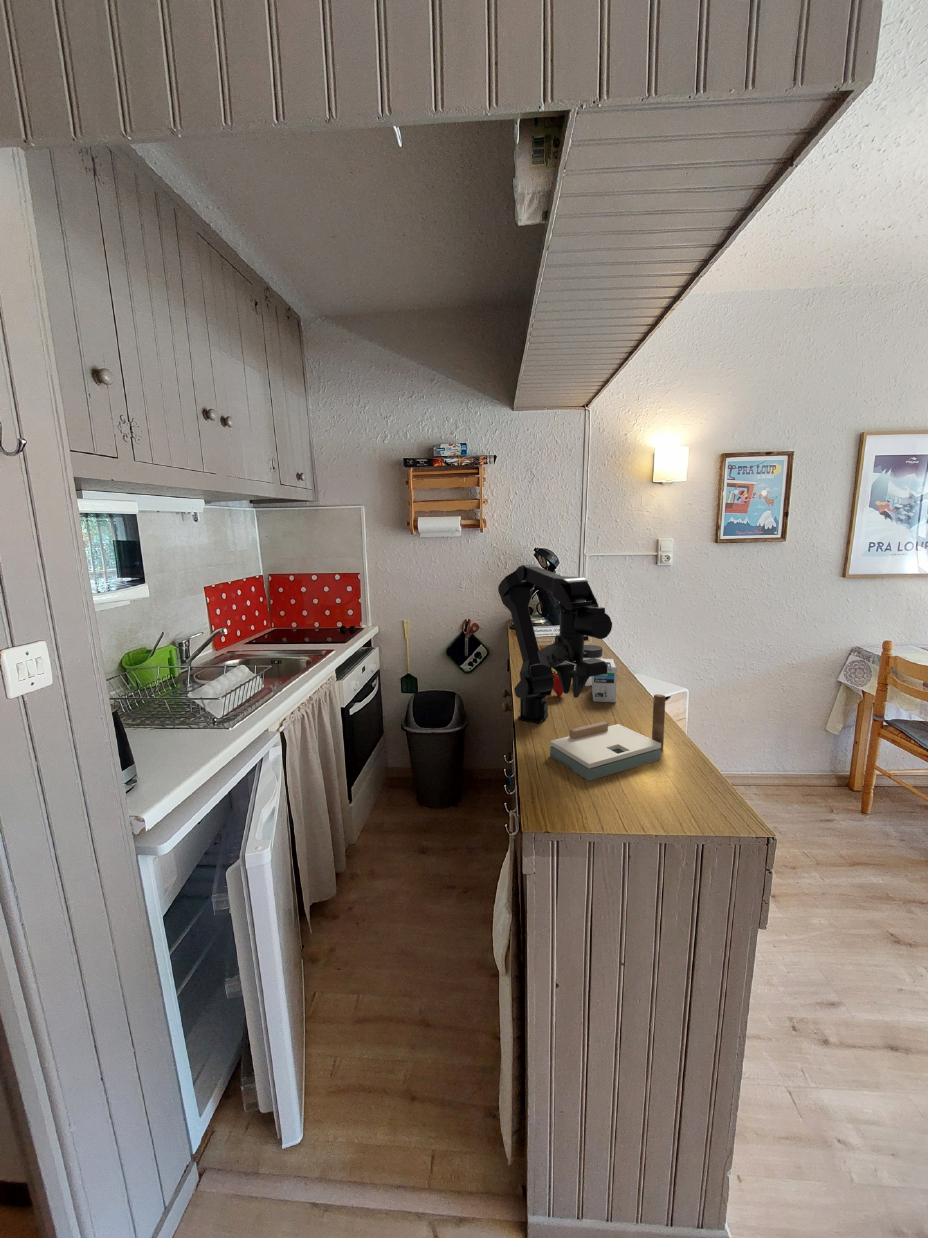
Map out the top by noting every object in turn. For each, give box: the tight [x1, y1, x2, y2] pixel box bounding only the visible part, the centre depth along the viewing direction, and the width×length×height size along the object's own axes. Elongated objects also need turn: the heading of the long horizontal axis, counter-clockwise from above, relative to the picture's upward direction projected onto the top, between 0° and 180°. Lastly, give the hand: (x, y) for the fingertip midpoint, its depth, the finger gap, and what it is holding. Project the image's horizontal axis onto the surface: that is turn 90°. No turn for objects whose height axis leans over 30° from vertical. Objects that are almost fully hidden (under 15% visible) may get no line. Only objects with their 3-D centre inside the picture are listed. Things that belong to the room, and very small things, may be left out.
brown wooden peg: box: [651, 693, 666, 751], centre depth 114 cm, size 2×2×12 cm
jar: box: [583, 644, 604, 687], centre depth 165 cm, size 9×8×12 cm
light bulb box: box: [591, 658, 618, 703], centre depth 151 cm, size 11×7×11 cm, turn 169°
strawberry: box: [552, 669, 564, 697], centre depth 152 cm, size 6×8×10 cm
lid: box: [549, 721, 661, 768], centre depth 110 cm, size 13×20×3 cm, turn 116°
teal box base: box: [549, 745, 662, 782], centre depth 111 cm, size 13×20×2 cm, turn 117°
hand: (571, 695), depth 119 cm, fingers open, 3 cm apart
